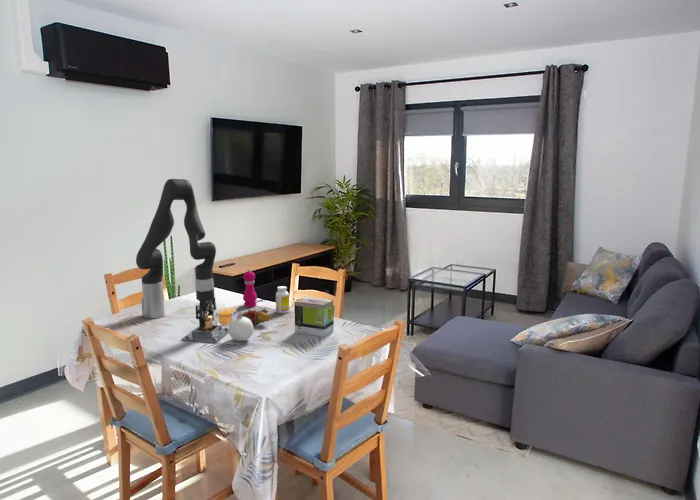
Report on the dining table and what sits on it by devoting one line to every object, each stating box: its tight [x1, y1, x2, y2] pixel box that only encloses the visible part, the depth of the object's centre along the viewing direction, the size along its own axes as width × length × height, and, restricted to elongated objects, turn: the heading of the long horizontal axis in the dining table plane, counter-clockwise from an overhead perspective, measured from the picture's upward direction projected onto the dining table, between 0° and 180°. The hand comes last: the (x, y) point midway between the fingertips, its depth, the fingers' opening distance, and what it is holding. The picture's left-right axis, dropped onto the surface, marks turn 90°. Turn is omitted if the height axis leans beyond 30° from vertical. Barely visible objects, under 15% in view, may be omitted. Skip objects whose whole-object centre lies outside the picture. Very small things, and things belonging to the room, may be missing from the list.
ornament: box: [228, 313, 254, 342], centre depth 210 cm, size 10×10×12 cm
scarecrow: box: [239, 308, 274, 325], centre depth 233 cm, size 17×16×8 cm
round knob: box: [201, 313, 214, 331], centre depth 216 cm, size 6×6×8 cm
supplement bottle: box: [275, 285, 290, 314], centre depth 250 cm, size 7×7×13 cm
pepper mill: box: [242, 268, 258, 308], centre depth 259 cm, size 7×7×20 cm
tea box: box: [293, 296, 335, 338], centre depth 221 cm, size 15×10×15 cm
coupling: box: [180, 324, 229, 344], centre depth 217 cm, size 16×16×3 cm
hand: (206, 324), depth 216 cm, fingers open, 8 cm apart
